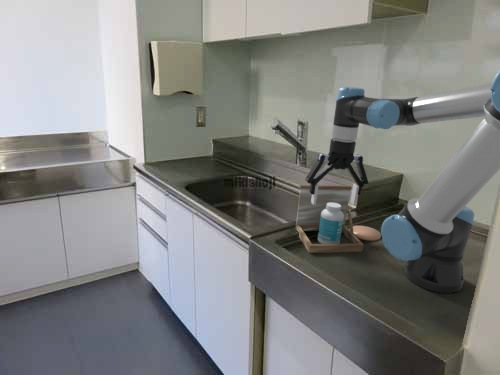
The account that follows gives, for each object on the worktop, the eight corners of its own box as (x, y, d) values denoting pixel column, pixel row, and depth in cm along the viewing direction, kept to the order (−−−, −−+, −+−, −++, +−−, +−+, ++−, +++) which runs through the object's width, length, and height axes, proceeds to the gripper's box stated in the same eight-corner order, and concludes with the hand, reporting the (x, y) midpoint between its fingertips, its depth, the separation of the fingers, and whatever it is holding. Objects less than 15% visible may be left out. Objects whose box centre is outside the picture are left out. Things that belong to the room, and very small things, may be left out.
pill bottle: (339, 248, 119) (346, 210, 115) (316, 245, 120) (322, 207, 116) (339, 238, 126) (345, 202, 122) (317, 235, 127) (322, 199, 123)
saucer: (386, 240, 127) (386, 239, 127) (356, 240, 125) (357, 239, 125) (371, 227, 137) (372, 225, 137) (344, 227, 135) (344, 225, 135)
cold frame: (365, 252, 118) (375, 202, 113) (308, 253, 115) (315, 202, 109) (346, 230, 133) (353, 185, 128) (294, 230, 130) (299, 185, 124)
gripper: (375, 138, 117) (363, 199, 124) (300, 135, 113) (293, 198, 120) (387, 143, 110) (374, 208, 117) (308, 140, 106) (299, 207, 113)
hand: (333, 203), depth 119 cm, fingers open, 13 cm apart
